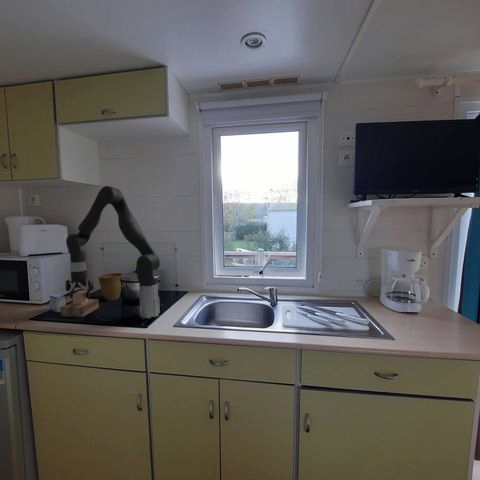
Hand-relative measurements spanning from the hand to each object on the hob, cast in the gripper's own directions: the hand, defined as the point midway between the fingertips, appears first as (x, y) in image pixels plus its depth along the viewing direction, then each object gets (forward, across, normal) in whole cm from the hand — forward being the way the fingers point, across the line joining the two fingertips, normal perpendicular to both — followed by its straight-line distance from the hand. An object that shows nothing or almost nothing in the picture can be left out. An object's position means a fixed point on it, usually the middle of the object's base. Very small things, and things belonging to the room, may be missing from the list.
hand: (80, 298), depth 137 cm
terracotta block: (+3, 0, 0) cm, 3 cm away
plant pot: (+8, -5, -23) cm, 25 cm away
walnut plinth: (+8, 0, 0) cm, 8 cm away
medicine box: (+8, +15, -2) cm, 17 cm away
